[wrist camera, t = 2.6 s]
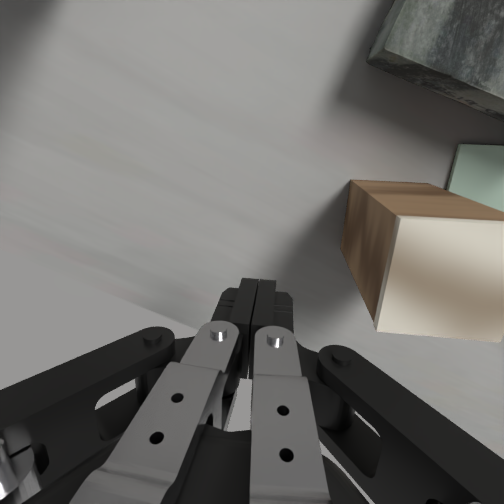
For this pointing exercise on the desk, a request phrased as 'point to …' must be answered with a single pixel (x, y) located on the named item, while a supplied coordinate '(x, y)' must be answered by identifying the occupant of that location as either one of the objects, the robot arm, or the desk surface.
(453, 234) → the walnut block
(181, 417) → the robot arm
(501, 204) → the sage mat
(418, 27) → the stone block
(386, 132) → the desk surface
